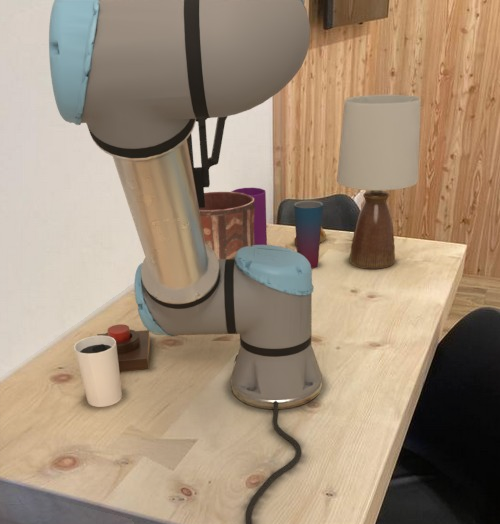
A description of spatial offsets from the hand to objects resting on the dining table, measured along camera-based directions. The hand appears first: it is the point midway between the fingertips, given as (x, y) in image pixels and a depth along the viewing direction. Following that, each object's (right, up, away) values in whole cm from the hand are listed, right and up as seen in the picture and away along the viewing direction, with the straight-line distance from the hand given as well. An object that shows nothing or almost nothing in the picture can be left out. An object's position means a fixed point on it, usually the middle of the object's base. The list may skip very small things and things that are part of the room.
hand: (200, 205), depth 116 cm
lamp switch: (-15, -24, +1) cm, 29 cm away
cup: (+23, -2, +42) cm, 48 cm away
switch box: (-15, -27, +3) cm, 31 cm away
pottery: (+2, -6, +38) cm, 38 cm away
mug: (+8, +3, +52) cm, 53 cm away
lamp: (+39, -1, +42) cm, 58 cm away
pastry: (+26, +7, +57) cm, 63 cm away
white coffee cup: (-15, -36, -10) cm, 40 cm away
